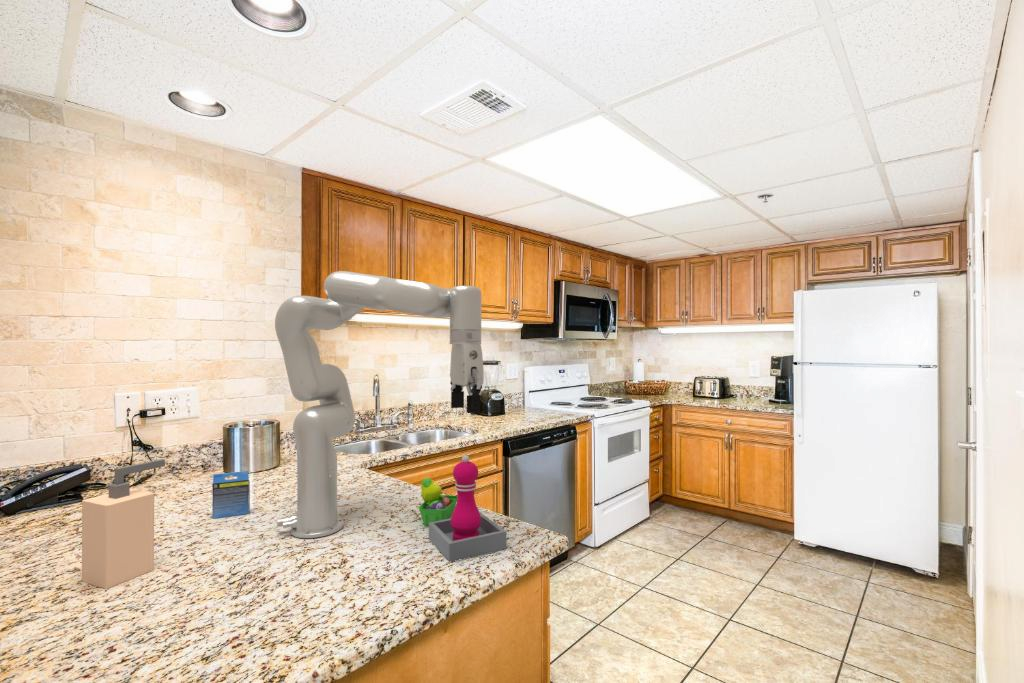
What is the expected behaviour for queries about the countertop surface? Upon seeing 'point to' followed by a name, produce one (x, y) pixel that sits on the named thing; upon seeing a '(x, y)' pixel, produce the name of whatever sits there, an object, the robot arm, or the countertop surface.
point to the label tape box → (230, 494)
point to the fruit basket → (435, 503)
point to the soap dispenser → (118, 531)
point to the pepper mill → (465, 501)
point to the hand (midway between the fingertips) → (465, 410)
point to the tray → (467, 539)
